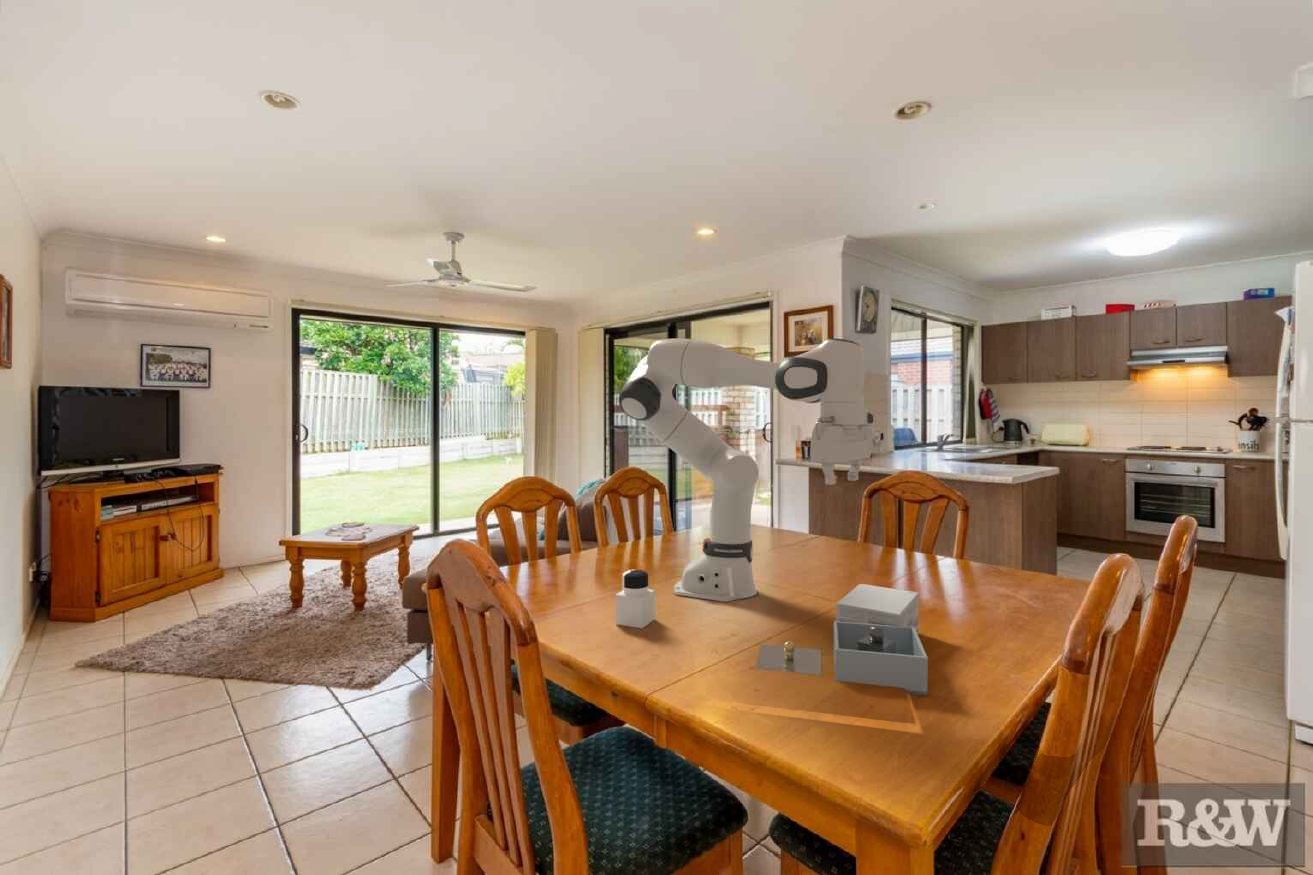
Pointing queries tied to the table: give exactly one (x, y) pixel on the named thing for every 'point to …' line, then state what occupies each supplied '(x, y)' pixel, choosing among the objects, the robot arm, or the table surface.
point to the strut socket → (876, 641)
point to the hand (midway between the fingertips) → (842, 482)
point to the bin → (881, 658)
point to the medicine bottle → (635, 600)
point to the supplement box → (879, 607)
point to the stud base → (796, 666)
